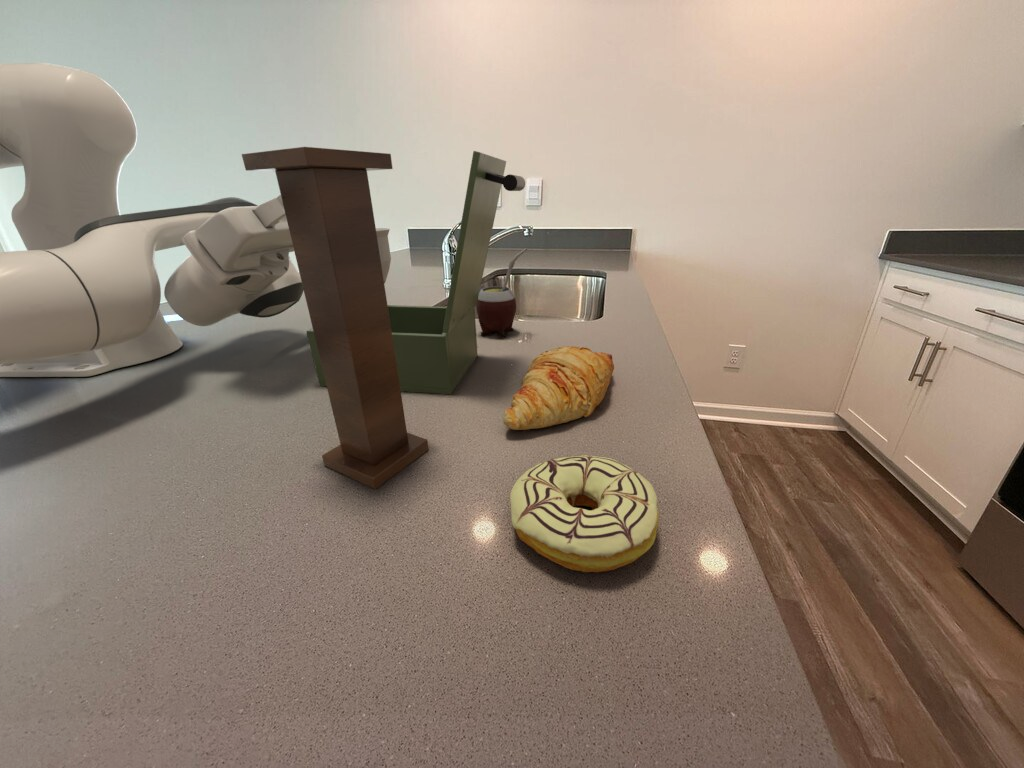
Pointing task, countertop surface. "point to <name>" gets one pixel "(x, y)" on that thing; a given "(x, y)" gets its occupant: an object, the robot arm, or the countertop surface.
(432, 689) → the countertop surface
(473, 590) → the countertop surface
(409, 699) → the countertop surface
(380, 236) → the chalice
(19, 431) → the countertop surface
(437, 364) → the bin
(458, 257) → the bin lid
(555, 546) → the decorated donut
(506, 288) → the mate gourd
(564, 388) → the croissant
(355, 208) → the pedestal stand
